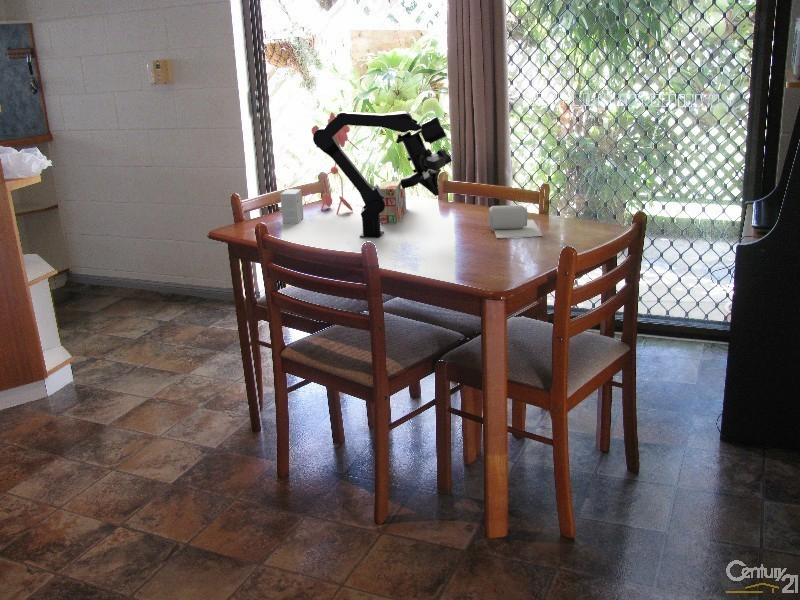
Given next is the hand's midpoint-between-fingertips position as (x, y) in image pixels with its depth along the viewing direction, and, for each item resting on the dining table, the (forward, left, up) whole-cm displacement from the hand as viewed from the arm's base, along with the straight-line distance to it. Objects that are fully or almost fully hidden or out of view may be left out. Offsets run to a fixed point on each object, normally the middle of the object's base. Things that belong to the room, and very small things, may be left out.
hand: (437, 195), depth 255 cm
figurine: (+30, +43, -13) cm, 53 cm away
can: (+4, -16, -8) cm, 18 cm away
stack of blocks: (+21, +21, -13) cm, 32 cm away
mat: (+7, -24, -12) cm, 28 cm away
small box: (+11, +55, -13) cm, 57 cm away
